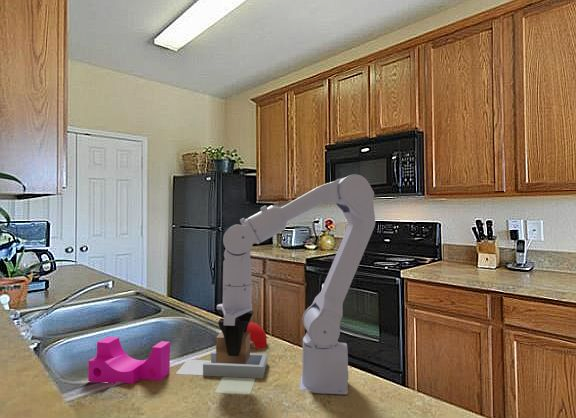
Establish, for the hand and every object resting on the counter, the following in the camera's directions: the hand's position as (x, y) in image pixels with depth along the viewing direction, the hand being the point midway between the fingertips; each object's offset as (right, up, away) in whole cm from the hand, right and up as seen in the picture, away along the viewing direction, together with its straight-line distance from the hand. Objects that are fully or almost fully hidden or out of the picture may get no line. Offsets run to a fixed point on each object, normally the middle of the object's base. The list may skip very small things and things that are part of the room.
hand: (236, 351), depth 78 cm
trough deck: (-4, -8, +8) cm, 12 cm away
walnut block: (-1, -2, 0) cm, 2 cm away
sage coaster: (0, -8, 0) cm, 8 cm away
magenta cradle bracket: (-23, -8, +4) cm, 25 cm away
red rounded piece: (+2, -8, +24) cm, 25 cm away
